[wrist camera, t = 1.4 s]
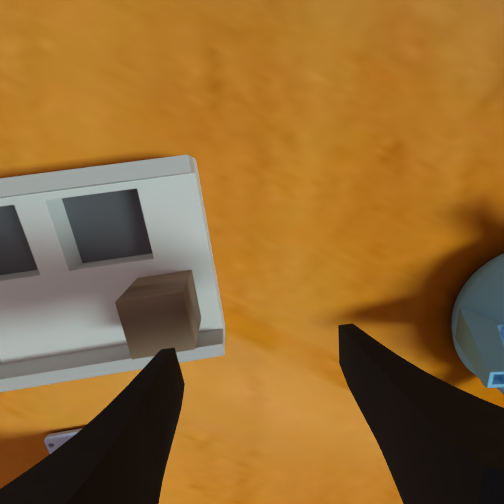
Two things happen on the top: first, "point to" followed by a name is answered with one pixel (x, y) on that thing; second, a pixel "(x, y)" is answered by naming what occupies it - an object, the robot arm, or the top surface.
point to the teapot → (482, 323)
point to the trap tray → (96, 265)
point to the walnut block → (160, 314)
